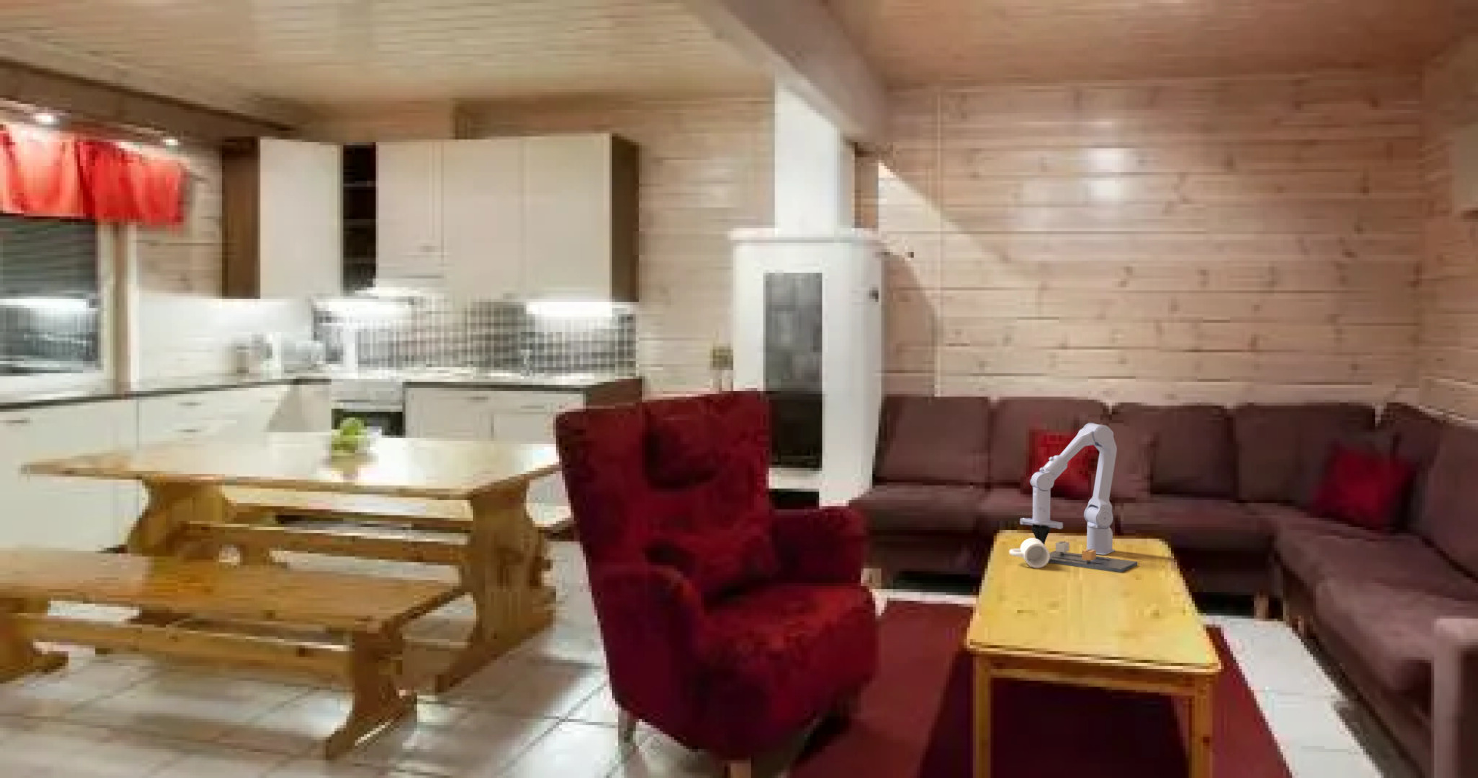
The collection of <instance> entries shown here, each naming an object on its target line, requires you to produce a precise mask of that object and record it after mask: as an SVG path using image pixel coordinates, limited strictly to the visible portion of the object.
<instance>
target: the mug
mask: <svg viewBox="0 0 1478 778" xmlns="http://www.w3.org/2000/svg"><path fill="white" fill-rule="evenodd" d="M1008 553H1009V554H1010V555H1011V556H1013V557H1019V558H1022V559H1023V560H1024V561H1025V563H1026V564H1027V565H1028V566H1029V567H1031V568H1034V569H1039V568H1040V569H1041V568H1043V567H1045V566H1046V565H1047V564H1048V561H1049V558H1050V553H1051V552H1050V551H1049V549H1048V548H1047V546H1046V545H1044V544H1043V543H1042V542H1041V541H1040V540H1038V539H1036V538H1035V537H1029V538H1027V539H1025V540H1024V541H1022V543H1021V544H1020V547H1019V548H1010V550H1009V551H1008Z"/></svg>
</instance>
